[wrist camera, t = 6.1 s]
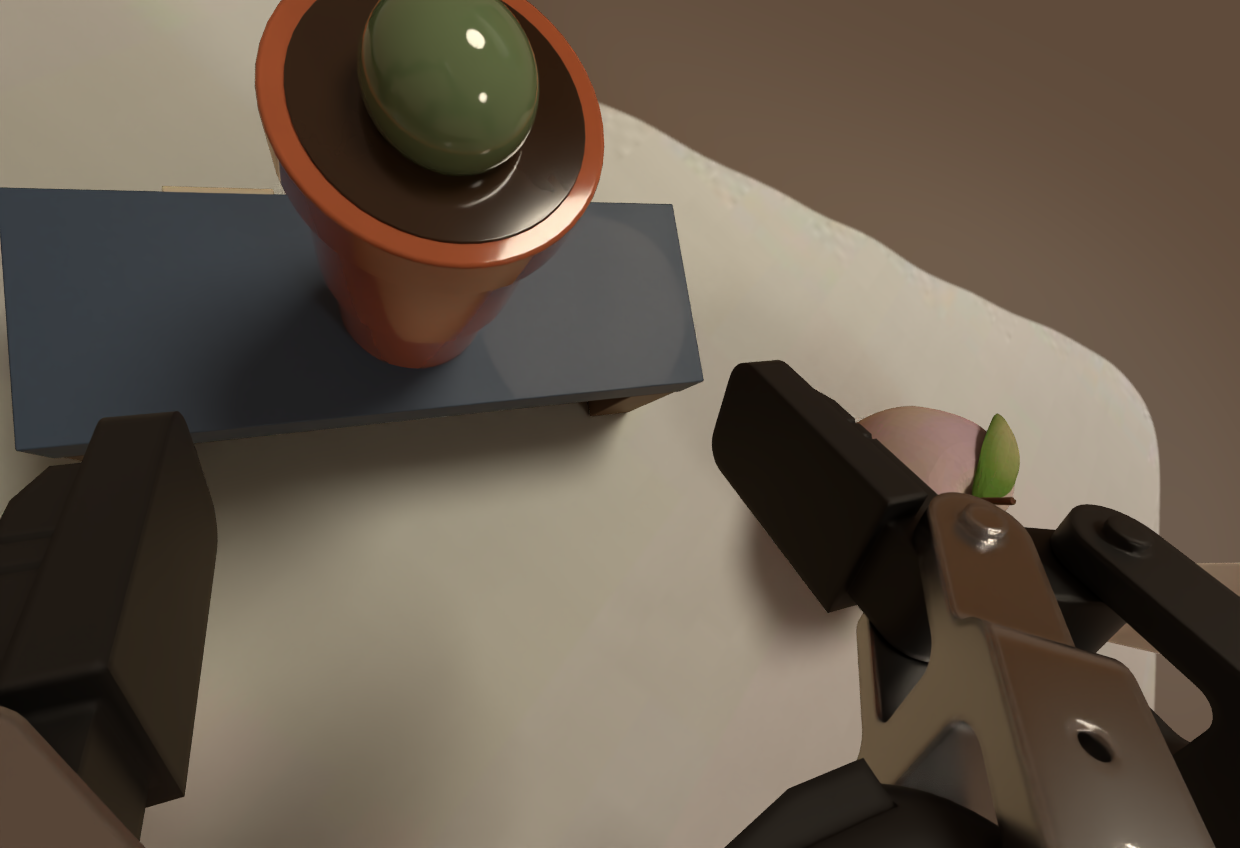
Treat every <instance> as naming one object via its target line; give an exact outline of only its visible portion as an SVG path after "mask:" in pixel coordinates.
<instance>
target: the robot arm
mask: <svg viewBox="0 0 1240 848" xmlns="http://www.w3.org/2000/svg"><path fill="white" fill-rule="evenodd" d="M712 451H713V456H714V459H715V462H716V464H717V466H718V468H719V470H720V471H721V472H722V474H723V475H724V476H725V478H726V479H727V480H728V482H729V483H730V484H731V486H732V487H733V488H734V490H735V491H736V492H737V494H738V495H739V496H740V497H741V499H742V500H743V501H744V503H745V504H746V505H747V507H748V508H749V509H750V511H751V512H752V513H753V515H754V516H755V517H756V519H757V520H758V521H759V523H760V524H761V525H762V527H763V528H764V529H765V531H766V532H767V533H768V535H769V536H770V537H771V539H772V540H773V541H774V543H775V544H776V545H777V547H778V548H779V549H780V550H781V552H782V553H783V554H784V556H785V557H786V558H787V560H788V561H789V562H790V564H791V565H792V566H793V568H794V569H795V570H796V572H797V573H798V574H799V576H800V577H801V578H802V580H803V581H804V582H805V584H806V585H807V586H808V588H809V589H810V590H811V592H812V593H813V594H814V596H815V597H816V598H817V599H818V601H819V602H820V603H821V605H822V606H823V607H824V609H825V610H826V611H827V613H830V612H833V611H837V610H840V609H844V608H847V607H851V606H854V605H858V607H859V608H860V609H861V610H862V611H863V614H862V616H861V617H860V619H859V621H858V623H857V629H856V634H857V651H858V668H859V685H860V702H861V719H862V741H861V747H860V752H859V755H858V758H857V760H856V761H854V762H852V763H849V764H847V765H844V766H842V767H840V768H837V769H835V770H832V771H830V772H828V773H825V774H823V775H820V776H818V777H815V778H813V779H811V780H808V781H806V782H803V783H801V784H799V785H796V786H794V787H791V788H789V789H787V790H786V791H785V792H784V793H783V794H782V795H781V796H780V797H779V798H778V799H777V800H776V801H774V802H773V803H772V804H771V805H770V806H769V807H768V808H767V809H766V810H765V811H764V812H763V813H761V814H760V815H759V816H758V817H757V818H756V819H755V820H754V821H753V822H752V823H751V824H750V825H748V826H747V827H746V828H745V829H744V830H743V831H742V832H741V833H740V834H739V835H738V836H737V837H735V838H734V839H733V840H732V841H731V842H730V843H729V844H728V845H727V846H726V847H725V848H1240V597H1239V596H1238V595H1237V594H1235V593H1234V592H1233V591H1231V590H1230V589H1229V588H1228V587H1226V586H1225V585H1224V584H1222V583H1221V582H1220V581H1218V580H1217V579H1216V578H1214V577H1213V576H1212V575H1210V574H1209V573H1208V572H1206V571H1205V570H1204V569H1203V568H1201V567H1200V566H1199V565H1197V564H1196V563H1195V562H1193V561H1192V560H1191V559H1189V558H1188V557H1187V556H1185V555H1184V554H1183V553H1181V552H1180V551H1179V550H1178V549H1176V548H1175V547H1174V546H1172V545H1171V544H1170V543H1168V542H1167V541H1166V540H1164V539H1163V538H1162V537H1160V536H1159V535H1158V534H1157V533H1155V532H1154V531H1152V530H1151V529H1150V528H1148V527H1147V526H1145V525H1144V524H1142V523H1140V522H1139V521H1137V520H1135V519H1133V518H1131V517H1129V516H1127V515H1125V514H1123V513H1121V512H1118V511H1115V510H1113V509H1110V508H1106V507H1103V506H1097V505H1089V504H1086V505H1079V506H1076V507H1074V508H1073V509H1072V510H1071V511H1070V513H1069V514H1068V515H1067V516H1066V518H1065V519H1064V520H1063V521H1062V523H1061V524H1060V525H1059V526H1058V528H1057V529H1056V530H1050V529H1038V528H1026V527H1023V526H1022V525H1021V524H1020V523H1019V522H1018V521H1017V520H1016V519H1015V518H1014V517H1013V516H1011V515H1010V514H1009V513H1007V512H1006V511H1004V510H1003V509H1001V508H1000V507H998V506H996V505H994V504H992V503H990V502H988V501H986V500H984V499H981V498H979V497H976V496H973V495H969V494H964V493H958V492H947V493H941V494H939V495H938V494H937V493H936V492H935V491H934V490H932V489H931V488H930V487H929V486H928V485H927V484H926V483H925V482H924V481H923V480H921V479H920V478H919V477H918V476H917V475H916V474H915V473H914V472H913V471H912V470H910V469H909V468H908V467H907V466H906V465H905V464H904V463H903V462H902V461H901V460H899V459H898V458H897V457H896V456H895V455H894V454H893V453H892V452H891V451H890V450H888V449H887V448H886V447H885V446H884V445H883V444H882V443H881V442H880V441H879V440H877V439H872V434H871V433H870V432H869V431H868V430H866V429H865V428H864V427H863V426H862V425H861V424H860V423H855V419H854V418H853V417H852V416H851V415H850V414H849V413H848V412H847V411H846V410H844V409H843V408H842V407H841V406H840V405H839V404H838V403H837V402H836V401H835V400H833V399H831V398H829V397H827V396H826V395H824V394H822V393H820V392H819V391H817V390H815V389H814V388H812V387H811V386H810V385H809V384H808V383H807V382H806V381H805V380H804V379H803V378H802V377H801V376H799V375H798V374H797V373H796V372H795V371H794V370H793V369H792V368H791V367H790V366H789V365H788V364H786V363H785V362H783V361H781V360H772V361H761V362H749V363H740V364H738V365H737V366H736V367H735V368H734V369H733V371H732V373H731V375H730V378H729V381H728V385H727V388H726V391H725V395H724V398H723V402H722V405H721V408H720V412H719V415H718V418H717V422H716V425H715V429H714V432H713V436H712ZM216 554H217V523H216V515H215V510H214V505H213V502H212V498H211V495H210V492H209V489H208V486H207V483H206V480H205V477H204V474H203V471H202V468H201V465H200V462H199V459H198V456H197V453H196V450H195V447H194V444H193V441H192V438H191V435H190V432H189V429H188V426H187V423H186V421H185V419H184V417H183V416H182V414H181V413H180V412H178V411H173V412H162V413H150V414H139V415H127V416H116V417H104V418H102V419H100V420H99V421H98V423H97V425H96V427H95V430H94V432H93V435H92V437H91V440H90V442H89V445H88V447H87V450H86V452H85V455H84V457H83V460H82V462H81V463H74V464H65V465H56V466H49V467H48V468H47V469H46V470H44V471H43V472H42V473H41V474H40V475H39V476H38V477H36V478H35V479H34V480H33V481H32V482H31V483H29V484H28V485H27V486H26V487H25V488H24V489H23V490H21V491H20V492H19V493H18V494H17V495H16V496H14V497H13V498H12V499H11V500H10V501H9V503H8V505H7V507H6V509H5V511H4V513H3V515H2V517H1V519H0V848H145V847H144V846H143V845H142V844H141V843H140V842H139V841H140V836H141V830H142V824H143V818H144V813H145V808H146V807H150V806H153V805H157V804H160V803H164V802H167V801H171V800H174V799H178V798H181V797H184V796H185V789H186V781H187V773H188V766H189V758H190V751H191V743H192V736H193V728H194V720H195V713H196V705H197V698H198V690H199V682H200V675H201V667H202V660H203V652H204V645H205V637H206V629H207V622H208V614H209V607H210V599H211V591H212V584H213V576H214V569H215V561H216ZM1126 623H1127V624H1128V625H1130V626H1131V627H1132V628H1133V629H1134V630H1135V631H1136V632H1137V633H1138V634H1140V635H1141V636H1142V637H1143V638H1144V639H1145V640H1146V641H1147V642H1148V643H1149V644H1151V645H1152V646H1153V647H1154V648H1155V649H1156V650H1157V651H1158V652H1159V653H1160V654H1162V655H1163V656H1164V657H1165V658H1166V659H1167V660H1168V661H1169V662H1170V663H1172V664H1173V665H1174V666H1175V667H1176V668H1177V669H1178V670H1179V671H1180V672H1181V673H1183V674H1184V675H1185V676H1186V677H1187V678H1188V679H1189V680H1190V681H1191V682H1193V683H1194V684H1195V685H1196V686H1197V687H1198V688H1199V689H1200V690H1201V691H1202V692H1203V694H1204V695H1205V696H1206V698H1207V700H1208V701H1209V703H1210V706H1211V708H1212V713H1213V720H1212V724H1211V726H1210V728H1209V729H1208V730H1206V731H1205V732H1204V733H1202V734H1201V735H1200V736H1198V737H1197V738H1196V739H1194V740H1193V741H1192V742H1188V741H1186V740H1185V739H1183V738H1182V737H1180V736H1179V735H1177V734H1176V733H1175V732H1174V731H1173V730H1172V729H1171V728H1170V727H1169V726H1168V725H1167V724H1166V723H1165V722H1164V721H1163V720H1162V719H1161V718H1160V717H1159V716H1158V715H1157V714H1156V713H1155V712H1154V711H1153V710H1152V709H1151V708H1150V707H1149V706H1148V704H1147V701H1146V699H1145V697H1144V695H1143V693H1142V691H1141V689H1140V687H1139V684H1138V682H1137V681H1136V679H1135V677H1134V675H1133V674H1132V673H1131V671H1130V670H1129V669H1128V668H1127V667H1126V666H1125V665H1124V664H1123V663H1121V662H1119V661H1118V660H1116V659H1113V658H1110V657H1107V656H1103V655H1100V654H1097V653H1096V652H1097V651H1098V650H1099V649H1100V648H1101V647H1102V646H1103V645H1104V644H1105V643H1106V642H1107V641H1108V640H1109V639H1110V638H1111V637H1112V636H1113V635H1114V634H1115V633H1117V632H1118V631H1119V630H1120V629H1121V628H1122V627H1123V626H1124V625H1125V624H1126Z"/></svg>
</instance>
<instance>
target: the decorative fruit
mask: <svg viewBox="0 0 1240 848" xmlns="http://www.w3.org/2000/svg"><path fill="white" fill-rule="evenodd" d="M857 423H860V424H861V425H862V426H863V427H864V428H865V429H866V430H868V431H869V432H870V433H871V434H872V439H877V440H879V441H880V442H881V443H882V444H883V445H884V446H885V447H886V448H887V449H888V450H890V451H891V452H892V453H893V454H894V455H895V456H896V457H897V458H898V459H899V460H901V461H902V462H903V463H904V464H905V465H906V466H907V467H908V468H909V469H910V470H912V471H913V472H914V473H915V474H916V475H917V476H918V477H919V478H920V479H921V480H923V481H924V482H925V483H926V484H927V485H928V486H929V487H930V488H931V489H932V490H934V491H935V492H936V493H937V494H938V495H939V494H941V493H947V492H958V493H964V494H969V495H973V496H976V497H979V498H981V499H984V500H986V501H988V502H990V503H992V504H994V505H996V506H998V507H1000V508H1001V509H1003V510H1004V511H1006V509H1007V508H1008V507H1009V505H1014V504H1015V503H1016V500H1015V499H1014V498H1013V493H1014V484H1015V481H1016V478H1017V475H1018V471H1019V465H1020V456H1019V450H1018V446H1017V443H1016V440H1015V437H1014V434H1013V433H1012V431H1011V429H1010V427H1009V425H1008V424H1007V422H1006V421H1005V419H1004V418H1003V417H1002V416H1001V415H999V414H996V415H994V417H993V418H992V421H991V423H990V425H989V428H988V430H987V432H986V431H985V430H984V429H983V428H982V427H980V426H979V425H977V424H976V423H974V422H972V421H970V420H967V419H965V418H963V417H960V416H958V415H955V414H951V413H948V412H944V411H941V410H935V409H930V408H924V407H916V406H905V407H896V408H891V409H887V410H884V411H881V412H878V413H875V414H873V415H870V416H868V417H866V418H864V419H862V420H861V421H859V422H857Z"/></svg>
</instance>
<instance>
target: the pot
mask: <svg viewBox="0 0 1240 848" xmlns="http://www.w3.org/2000/svg"><path fill="white" fill-rule="evenodd" d="M255 91H256V99H257V106H258V111H259V114H260V118H261V122H262V125H263V129H264V132H265V136H266V139H267V143H268V146H269V150H270V153H271V157H272V160H273V164H274V167H275V170H276V174H277V176H278V178H279V180H280V182H281V185H282V187H283V189H284V191H285V193H286V195H287V197H288V198H289V200H290V201H291V203H292V205H293V206H294V208H295V209H296V211H297V212H298V214H299V215H300V216H301V217H302V219H303V220H304V221H305V222H306V224H307V225H308V226H309V227H310V231H311V236H312V240H313V245H314V249H315V254H316V258H317V262H318V265H319V268H320V272H321V274H322V276H323V278H324V280H325V282H326V284H327V286H328V287H329V289H330V291H331V292H332V294H333V295H334V296H335V298H336V299H337V302H338V308H339V312H340V315H341V319H342V321H343V323H344V325H345V327H346V329H347V330H348V332H349V334H350V335H351V336H352V338H353V339H354V340H355V341H356V342H357V343H358V344H359V345H360V346H361V347H362V348H363V349H364V350H365V351H367V352H368V353H370V354H371V355H372V356H374V357H376V358H378V359H380V360H382V361H384V362H387V363H389V364H392V365H396V366H399V367H406V368H428V367H433V366H437V365H440V364H443V363H446V362H448V361H450V360H452V359H454V358H455V357H457V356H458V355H460V354H461V353H462V352H463V351H464V350H465V349H466V348H468V346H469V345H470V344H471V343H472V341H473V340H474V338H475V337H476V335H477V333H478V331H479V330H480V329H482V328H483V327H484V326H486V325H487V324H489V323H490V322H491V321H492V320H493V319H494V318H495V317H496V316H497V315H498V314H499V313H500V312H501V311H502V309H503V308H504V307H505V305H506V304H507V302H508V300H509V299H510V297H511V295H512V294H513V292H514V290H515V289H516V287H517V285H518V284H519V282H520V280H521V279H523V278H525V277H527V276H529V275H530V274H532V273H533V272H535V271H536V270H538V269H539V268H540V267H542V266H543V265H544V264H545V263H546V262H547V261H548V260H550V259H551V258H552V257H553V256H554V255H555V254H556V252H557V251H558V250H559V249H560V247H561V246H562V245H563V244H564V242H565V241H566V239H567V238H568V237H569V235H570V234H571V232H572V231H573V229H574V228H575V226H576V225H577V223H578V222H579V220H580V219H581V217H582V216H583V214H584V213H585V211H586V209H587V207H588V206H589V204H590V202H591V200H592V199H593V196H594V194H595V191H596V188H597V186H598V183H599V180H600V175H601V171H602V166H603V156H604V134H603V123H602V118H601V113H600V107H599V104H598V101H597V98H596V95H595V92H594V88H593V86H592V84H591V82H590V80H589V77H588V75H587V73H586V70H585V69H584V67H583V65H582V64H581V62H580V60H579V59H578V57H577V55H576V53H575V52H574V50H573V49H572V48H571V46H570V45H569V43H568V42H567V41H566V39H565V38H564V37H563V35H562V34H561V33H560V32H559V31H558V30H557V29H556V28H555V26H554V25H553V24H552V23H551V22H550V21H549V20H548V19H547V18H546V17H545V16H544V15H543V14H542V13H541V12H540V11H539V10H537V9H536V8H535V7H534V6H533V5H532V4H531V3H529V2H528V1H527V0H281V2H280V3H279V4H278V6H277V7H276V9H275V10H274V12H273V14H272V15H271V17H270V19H269V20H268V22H267V24H266V27H265V29H264V32H263V35H262V37H261V40H260V42H259V47H258V52H257V58H256V63H255Z"/></svg>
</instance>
